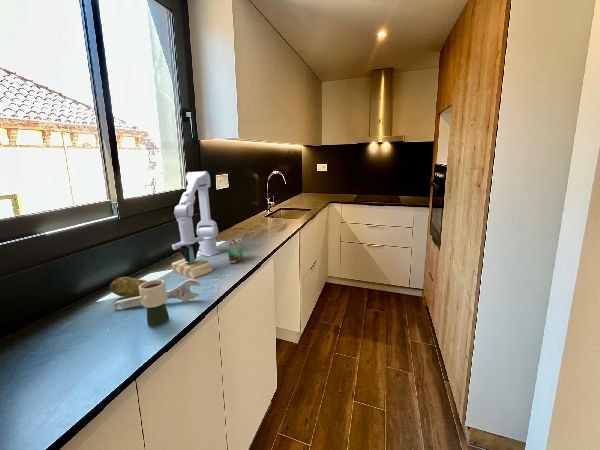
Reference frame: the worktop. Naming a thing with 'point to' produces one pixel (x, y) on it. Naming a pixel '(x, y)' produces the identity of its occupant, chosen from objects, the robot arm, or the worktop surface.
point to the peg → (191, 255)
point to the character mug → (154, 301)
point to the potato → (126, 286)
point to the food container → (235, 251)
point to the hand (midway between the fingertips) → (191, 260)
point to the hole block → (192, 268)
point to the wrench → (177, 293)
